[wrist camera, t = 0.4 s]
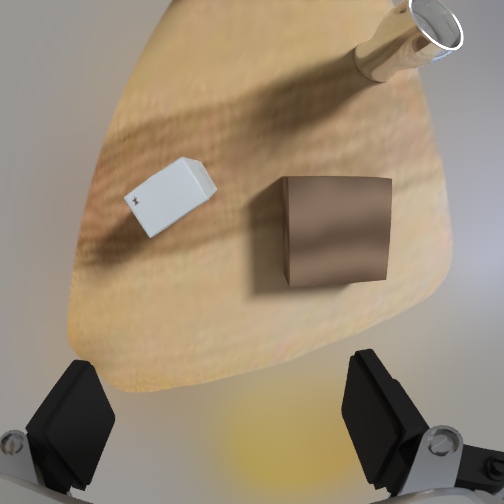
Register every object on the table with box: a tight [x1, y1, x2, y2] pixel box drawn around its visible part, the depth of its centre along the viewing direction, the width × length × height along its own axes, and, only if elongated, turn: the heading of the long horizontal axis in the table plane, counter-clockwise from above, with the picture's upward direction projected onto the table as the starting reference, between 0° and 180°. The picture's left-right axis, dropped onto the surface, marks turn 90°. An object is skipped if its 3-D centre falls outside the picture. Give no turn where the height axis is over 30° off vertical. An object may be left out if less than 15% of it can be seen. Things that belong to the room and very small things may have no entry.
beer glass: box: [354, 0, 463, 82], centre depth 22 cm, size 7×7×15 cm
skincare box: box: [124, 157, 217, 238], centre depth 28 cm, size 6×4×12 cm
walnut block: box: [282, 176, 392, 288], centre depth 33 cm, size 12×12×5 cm
